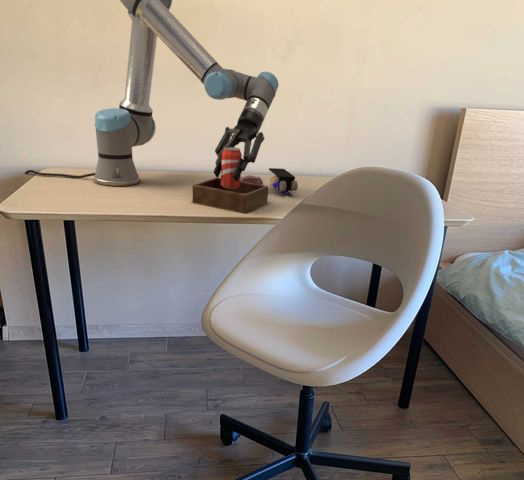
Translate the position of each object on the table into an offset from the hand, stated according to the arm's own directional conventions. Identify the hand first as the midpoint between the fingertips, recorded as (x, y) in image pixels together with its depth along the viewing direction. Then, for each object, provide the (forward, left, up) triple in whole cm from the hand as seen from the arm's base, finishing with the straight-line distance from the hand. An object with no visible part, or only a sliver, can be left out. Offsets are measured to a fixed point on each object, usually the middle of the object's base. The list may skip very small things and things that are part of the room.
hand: (225, 176), depth 161 cm
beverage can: (0, +4, -4) cm, 6 cm away
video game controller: (-3, +22, -9) cm, 24 cm away
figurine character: (+7, +29, -9) cm, 31 cm away
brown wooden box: (0, +4, -9) cm, 10 cm away
